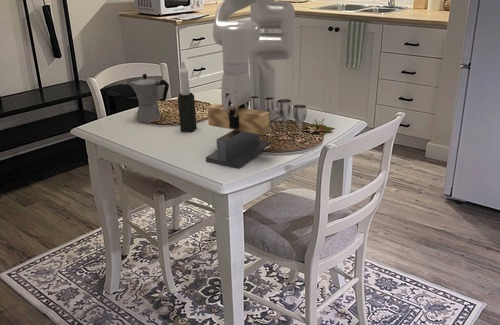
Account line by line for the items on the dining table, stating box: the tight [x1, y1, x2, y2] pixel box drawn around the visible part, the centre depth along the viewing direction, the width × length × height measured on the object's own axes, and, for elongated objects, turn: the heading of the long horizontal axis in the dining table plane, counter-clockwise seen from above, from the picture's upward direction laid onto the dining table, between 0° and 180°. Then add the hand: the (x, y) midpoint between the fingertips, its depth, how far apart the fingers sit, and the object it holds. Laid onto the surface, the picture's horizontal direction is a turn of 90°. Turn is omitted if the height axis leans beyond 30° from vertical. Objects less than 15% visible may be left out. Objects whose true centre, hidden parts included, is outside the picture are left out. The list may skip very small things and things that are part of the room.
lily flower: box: [306, 118, 335, 136], centre depth 177 cm, size 12×12×5 cm
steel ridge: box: [205, 129, 272, 170], centre depth 159 cm, size 20×12×8 cm, turn 149°
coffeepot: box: [128, 73, 170, 124], centre depth 191 cm, size 15×9×18 cm, turn 87°
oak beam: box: [206, 103, 271, 136], centre depth 156 cm, size 20×4×6 cm, turn 59°
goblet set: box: [248, 96, 308, 138], centre depth 173 cm, size 28×6×13 cm, turn 60°
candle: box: [177, 61, 198, 133], centre depth 178 cm, size 5×5×25 cm
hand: (238, 125), depth 156 cm, fingers closed on oak beam, 4 cm apart
